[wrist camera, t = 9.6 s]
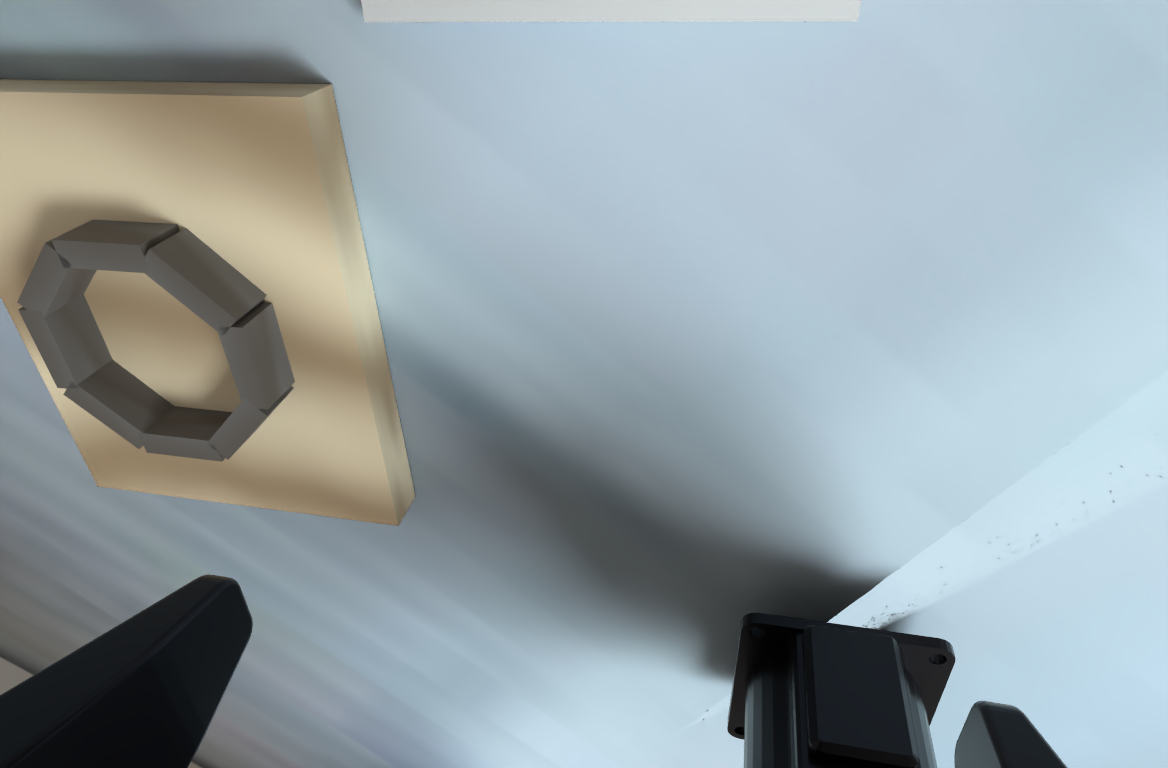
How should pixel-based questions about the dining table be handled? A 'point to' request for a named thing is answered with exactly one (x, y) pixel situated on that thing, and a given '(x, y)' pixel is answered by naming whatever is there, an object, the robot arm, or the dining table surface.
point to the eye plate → (264, 229)
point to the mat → (608, 10)
